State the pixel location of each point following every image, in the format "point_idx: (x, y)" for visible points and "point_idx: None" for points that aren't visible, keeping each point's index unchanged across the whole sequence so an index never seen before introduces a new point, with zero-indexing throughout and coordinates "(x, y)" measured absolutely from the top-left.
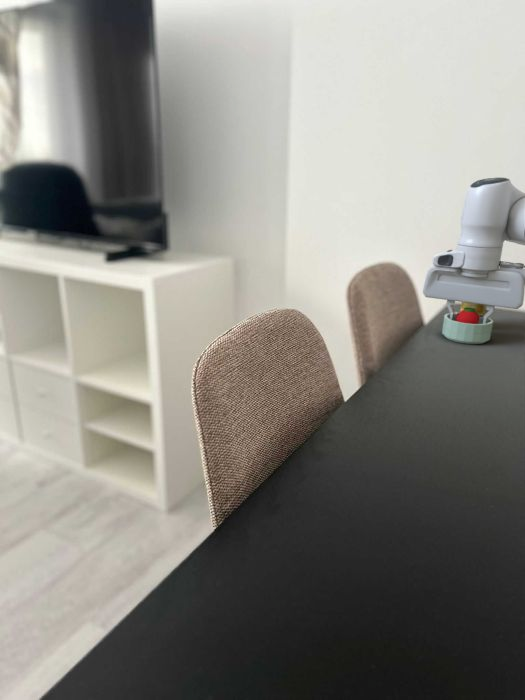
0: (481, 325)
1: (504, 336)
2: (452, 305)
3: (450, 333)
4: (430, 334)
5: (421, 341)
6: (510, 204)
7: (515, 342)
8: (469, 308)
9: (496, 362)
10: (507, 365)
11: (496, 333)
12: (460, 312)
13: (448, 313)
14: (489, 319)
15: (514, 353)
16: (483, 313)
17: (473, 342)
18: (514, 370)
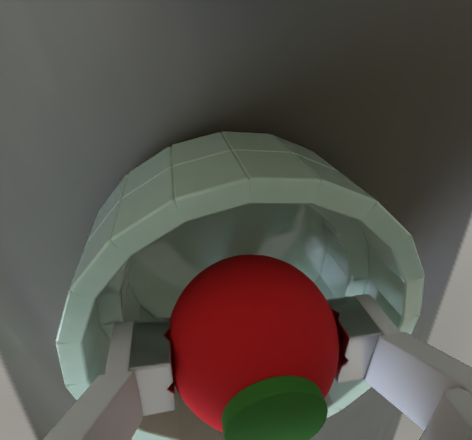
0: (336, 409)
1: (442, 88)
2: (90, 436)
3: None
4: (40, 306)
5: (63, 409)
6: None
7: (468, 178)
8: (274, 417)
9: (347, 418)
10: (374, 418)
11: (407, 37)
12: (198, 416)
13: (66, 321)
14: (403, 281)
15: (419, 322)
16: None
17: None
18: (385, 433)
